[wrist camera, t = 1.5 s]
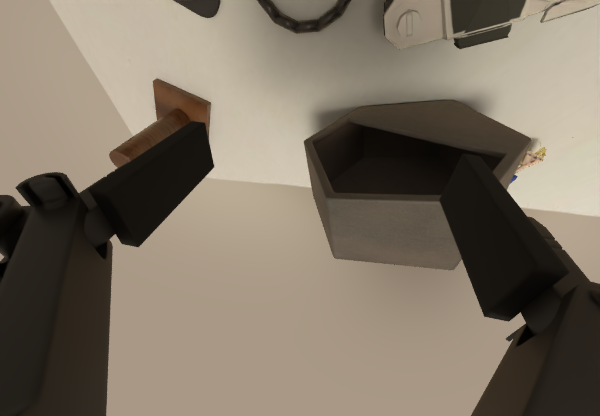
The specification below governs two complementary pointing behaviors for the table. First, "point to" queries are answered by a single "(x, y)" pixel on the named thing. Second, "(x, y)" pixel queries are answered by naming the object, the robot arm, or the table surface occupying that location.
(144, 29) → the table surface
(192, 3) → the mouse pad
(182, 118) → the stand
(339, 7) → the ring
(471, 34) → the camera
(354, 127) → the planter
